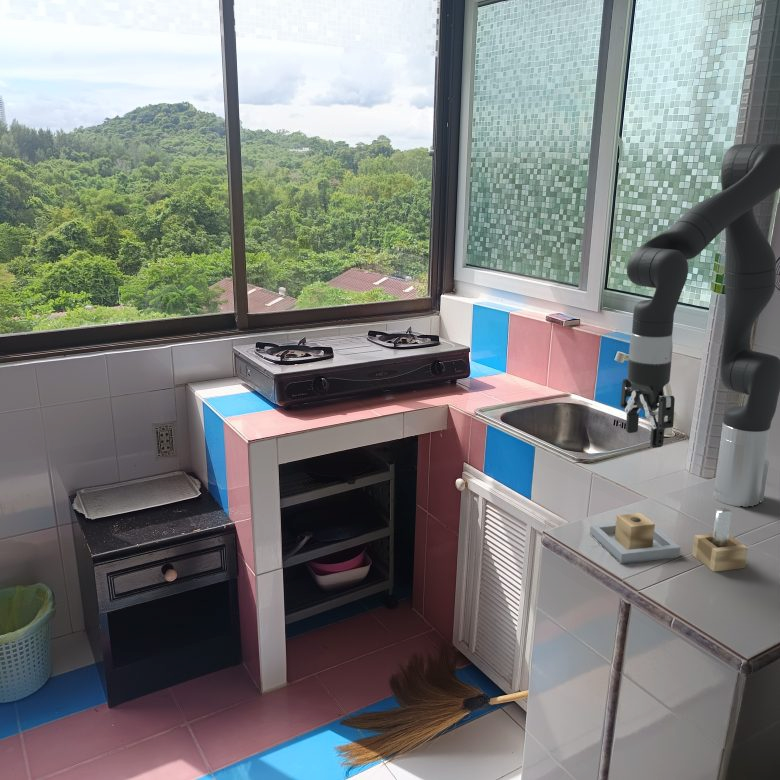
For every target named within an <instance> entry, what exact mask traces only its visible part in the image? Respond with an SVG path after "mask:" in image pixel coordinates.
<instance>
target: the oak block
mask: <svg viewBox="0 0 780 780" xmlns="http://www.w3.org/2000/svg"><path fill="white" fill-rule="evenodd" d="M712 539H713V532H711V533H705V534H695V535H694V538H693V544H692V553H691V555H692V556H693V557H694V558H696V559H697V560H698V561H699V562H701V563H702V564H703V565H705V566H706V567H707V568H708V569H710V570H711V571H712V572H715V573H716V572H721V571H722V572H724V571H730V570H737V569H745V568H746V562H747V555H748V549H749V547H747V546H745V545H744V544H743V543H741V542H740V541H739V540H737V539H735V538H734V537H732V536H731V535H730V534H729V538H728V545H727V547H720V548H718V547H716V546H715V545H714V544H712Z"/></svg>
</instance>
